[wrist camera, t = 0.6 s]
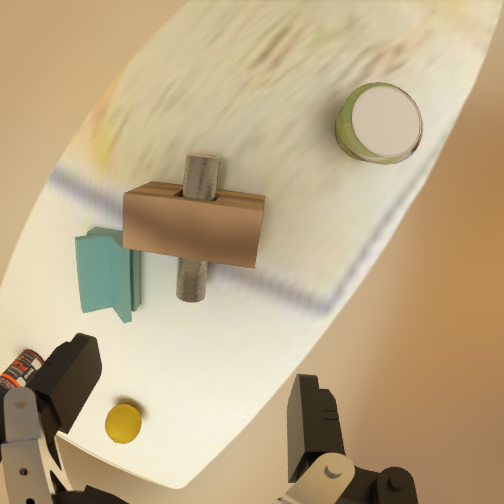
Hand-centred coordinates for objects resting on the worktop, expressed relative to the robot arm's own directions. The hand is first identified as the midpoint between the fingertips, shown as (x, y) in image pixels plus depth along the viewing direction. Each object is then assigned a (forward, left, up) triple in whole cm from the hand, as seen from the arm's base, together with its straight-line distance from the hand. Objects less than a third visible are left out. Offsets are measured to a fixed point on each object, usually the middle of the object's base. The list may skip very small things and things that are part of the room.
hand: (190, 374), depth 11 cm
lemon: (+33, -14, -23) cm, 42 cm away
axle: (+1, -4, -20) cm, 20 cm away
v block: (+8, -14, -23) cm, 28 cm away
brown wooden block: (+2, -4, -23) cm, 23 cm away
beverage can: (-11, +10, -23) cm, 28 cm away
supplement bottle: (+30, -33, -23) cm, 50 cm away
